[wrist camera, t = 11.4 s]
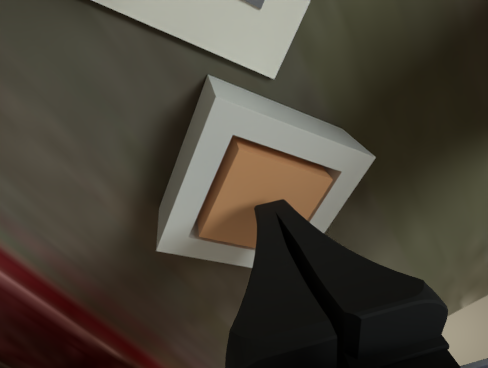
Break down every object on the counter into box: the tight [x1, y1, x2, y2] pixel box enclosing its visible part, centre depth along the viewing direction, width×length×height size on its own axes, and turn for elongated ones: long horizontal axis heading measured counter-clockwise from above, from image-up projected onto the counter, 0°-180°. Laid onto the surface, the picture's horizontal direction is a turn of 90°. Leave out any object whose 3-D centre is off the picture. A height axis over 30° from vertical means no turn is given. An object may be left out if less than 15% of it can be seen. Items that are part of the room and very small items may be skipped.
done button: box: [197, 135, 333, 248], centre depth 16 cm, size 5×5×2 cm
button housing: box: [156, 75, 376, 268], centre depth 16 cm, size 8×8×4 cm
